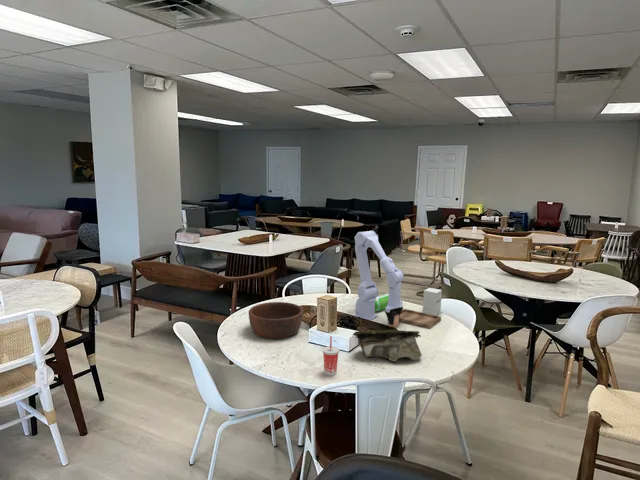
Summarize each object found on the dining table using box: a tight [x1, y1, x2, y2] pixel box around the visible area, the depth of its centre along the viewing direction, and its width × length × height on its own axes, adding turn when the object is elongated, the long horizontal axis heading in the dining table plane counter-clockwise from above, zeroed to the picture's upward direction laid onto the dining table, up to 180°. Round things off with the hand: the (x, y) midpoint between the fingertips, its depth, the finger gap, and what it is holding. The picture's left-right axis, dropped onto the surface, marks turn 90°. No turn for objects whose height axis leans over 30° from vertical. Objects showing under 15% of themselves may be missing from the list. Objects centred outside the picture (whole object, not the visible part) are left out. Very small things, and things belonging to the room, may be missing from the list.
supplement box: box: [422, 287, 443, 316], centre depth 220 cm, size 7×7×13 cm
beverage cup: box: [322, 336, 340, 376], centre depth 153 cm, size 6×6×14 cm
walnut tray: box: [399, 308, 442, 330], centre depth 209 cm, size 20×15×2 cm
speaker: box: [375, 292, 389, 313], centre depth 226 cm, size 18×7×8 cm, turn 133°
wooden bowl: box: [248, 301, 304, 340], centre depth 193 cm, size 25×25×10 cm
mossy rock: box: [352, 329, 422, 362], centre depth 166 cm, size 28×13×15 cm
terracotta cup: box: [387, 313, 400, 328], centre depth 202 cm, size 5×5×6 cm
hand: (393, 322), depth 202 cm, fingers closed on terracotta cup, 5 cm apart
